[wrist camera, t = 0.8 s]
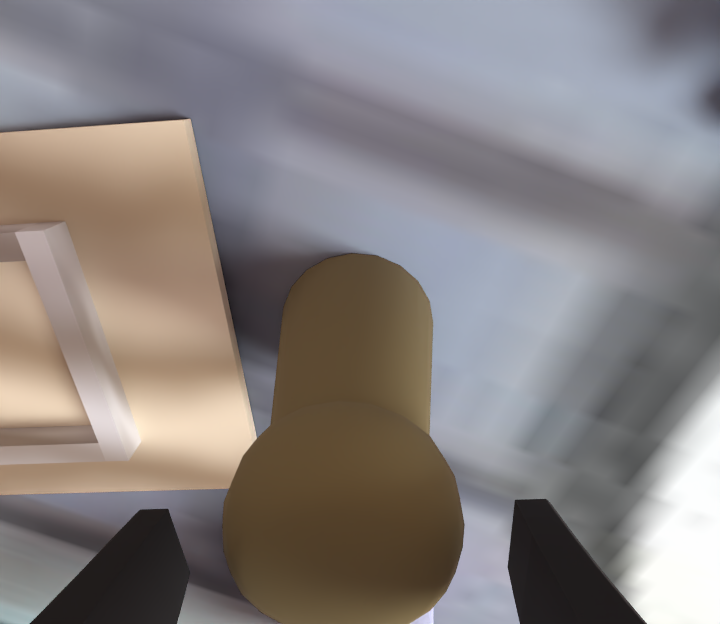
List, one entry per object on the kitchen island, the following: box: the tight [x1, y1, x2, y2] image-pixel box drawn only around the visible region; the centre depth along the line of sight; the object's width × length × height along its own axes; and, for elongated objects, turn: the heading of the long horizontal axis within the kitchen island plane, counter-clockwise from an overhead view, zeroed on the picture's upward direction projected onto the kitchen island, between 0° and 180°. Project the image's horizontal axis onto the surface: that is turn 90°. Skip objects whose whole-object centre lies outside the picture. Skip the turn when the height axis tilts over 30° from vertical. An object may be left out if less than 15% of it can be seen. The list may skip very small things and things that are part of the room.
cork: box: [222, 253, 464, 624], centre depth 14 cm, size 6×6×11 cm
